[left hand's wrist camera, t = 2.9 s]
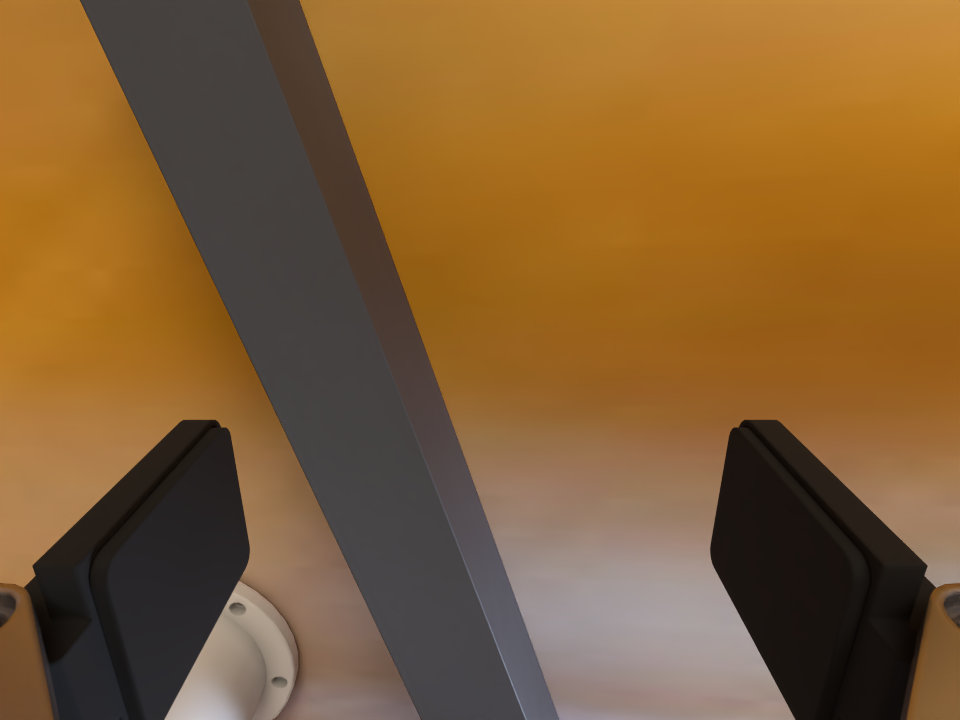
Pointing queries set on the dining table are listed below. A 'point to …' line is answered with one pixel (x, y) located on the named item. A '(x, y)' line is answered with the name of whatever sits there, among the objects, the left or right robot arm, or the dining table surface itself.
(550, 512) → the dining table surface
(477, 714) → the beam
